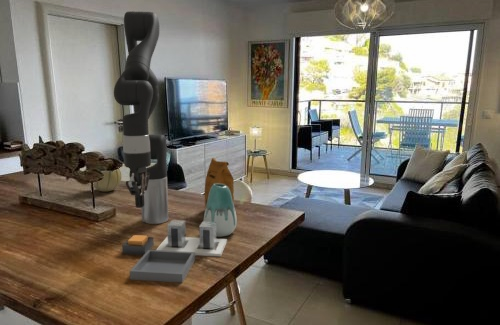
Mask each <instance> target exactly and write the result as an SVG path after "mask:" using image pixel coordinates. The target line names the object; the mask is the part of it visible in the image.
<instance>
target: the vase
mask: <svg viewBox="0 0 500 325" xmlns="http://www.w3.org/2000/svg"><path fill="white" fill-rule="evenodd" d="M237 218H238V217H237V213H236V208H235V204H233V201H232V196H231V192H230V190H229V188H228V187H227V186H226V185H224V184H220V183H216V184H213V186H212V187H211V189H210V192H209V196H208V201H207V205H206V208H205V207H204V214H203V222H216V238H221V237H227V236H229V235H231V234H233V232H234V231H235V230H236V227H237V222H238V219H237Z"/></svg>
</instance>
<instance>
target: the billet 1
mask: <svg viewBox="0 0 500 325" xmlns="http://www.w3.org/2000/svg"><path fill="white" fill-rule="evenodd" d="M166 225H167V229H166V230H167V236H168V247H170V248H184V247H185V246H186V244H187V243H186V237H187V232H186V220H178V219H177V220H176V219H171V221H170V222H168V224H166Z"/></svg>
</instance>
